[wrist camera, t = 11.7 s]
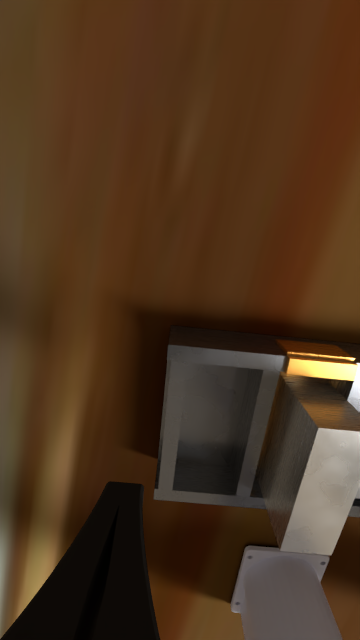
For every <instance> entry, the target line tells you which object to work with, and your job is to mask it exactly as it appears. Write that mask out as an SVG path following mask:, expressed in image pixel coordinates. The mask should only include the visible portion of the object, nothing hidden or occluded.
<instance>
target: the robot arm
mask: <svg viewBox="0 0 360 640" xmlns="http://www.w3.org/2000/svg"><path fill="white" fill-rule="evenodd" d="M143 493H144V486H143V485H142V484H133V483H122V482H108V483H107V484H106V486H105V488H104V490H103V492H102V494H101V496H100V498H99V500H98V502H97V503H96V505H95V507H94V509H93V510H92V512H91V514H90V516H89V517H88V519H87V521H86V522H85V524H84V525H83V527H82V528H81V530H80V532H79V533H78V535H77V536H76V538H75V540H74V541H73V543H72V544H71V546H70V547H69V549H68V550H67V552H66V553H65V554H64V556H63V557H62V559H61V560H60V562H59V563H58V565H57V566H56V567H55V569H54V570H53V572H52V573H51V575H50V576H49V577H48V579H47V580H46V582H45V583H44V584H43V586H42V587H41V588H40V590H39V591H38V592H37V594H36V595H35V596H34V598H33V599H32V600H31V602H30V603H29V604H28V605H27V607H26V608H25V609H24V611H23V612H22V613H21V614H20V616H19V617H18V618H17V619H16V621H15V622H14V623H13V624H12V626H11V627H10V628H9V629H8V630H7V632H6V633H5V634H4V635H3V637H2V638H1V639H0V640H160V637H159V632H158V627H157V622H156V617H155V612H154V607H153V601H152V595H151V589H150V583H149V576H148V569H147V562H146V554H145V544H144V534H143V514H142V506H143ZM328 562H329V556H328V555H321V554H309V553H297V552H285V551H280V550H279V548H273V547H261V546H247V547H246V548H245V550H244V554H243V558H242V562H241V566H240V570H239V574H238V577H237V581H236V585H235V589H234V593H233V597H232V601H231V610H232V611H233V612H237V613H241V618H242V625H243V631H244V638H245V640H343V639H342V636H341V634H340V631H339V629H338V626H337V624H336V621H335V619H334V616H333V614H332V611H331V609H330V606H329V604H328V601H327V599H326V596H325V594H324V591H323V589H322V586H321V584H320V582H321V579H322V577H323V574H324V572H325V569H326V567H327V564H328Z"/></svg>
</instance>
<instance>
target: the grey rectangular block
mask: <svg viewBox="0 0 360 640" xmlns="http://www.w3.org/2000/svg"><path fill="white" fill-rule="evenodd" d="M256 476H257V479H258V482H259V486H260V489H261V492H262V495H263V498H264V502H265V505H266V508H267V511H268V515H269V518H270V521H271V524H272V528H273V531H274V534H275V537H276V540H277V544H278V547H279V550H280V551H285V552H297V553H309V554H321V555H332V553H333V551H334V548H335V546H336V543H337V541H338V538H339V536H340V533H341V531H342V528H343V526H344V524H345V521H346V519H347V516H348V514H349V511H350V509H351V506H352V504H353V501H354V499H355V496H356V494H357V492H358V489H359V487H360V413H359V412H358V411H357V410H356V409H355V408H354V407H353V406H352V405H351V404H350V403H349V402H348V401H347V400H346V399H345V398H344V397H343V396H342V395H341V394H340V393H339V392H338V391H337V390H336V389H335V388H334V387H333V386H332V385H331V384H330V383H329V382H328V381H327V380H326V379H325V378H320V377H310V376H299V375H289V374H286V373H285V372H282V371H280V375H279V379H278V383H277V387H276V391H275V395H274V399H273V403H272V407H271V412H270V416H269V420H268V424H267V428H266V432H265V436H264V440H263V444H262V449H261V453H260V457H259V461H258V465H257V469H256Z"/></svg>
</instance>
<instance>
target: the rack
mask: <svg viewBox="0 0 360 640" xmlns="http://www.w3.org/2000/svg"><path fill="white" fill-rule="evenodd" d="M280 371H282V372H285V373H286V374H289V375H299V376H310V377H320V378H325V379H326V380H327V381H328V382H329V383H330V384H331V385H332V386H333V387H334V388H335V389H336V390H337V391H338V392H339V393H340V394H341V395H342V396H343V397H344V398H345V399H346V400H347V401H348V402H349V403H350V404H351V405H352V406H353V407H354V408H355V409H356V410H357V411H358V412H359V413H360V344H354V343H344V342H334V341H324V340H314V339H303V338H293V337H283V336H273V335H263V334H253V333H243V332H233V331H223V330H213V329H203V328H193V327H183V326H173V325H171V329H170V336H169V343H168V353H167V370H166V381H165V391H164V402H163V412H162V422H161V433H160V443H159V454H158V464H157V472H156V481H155V490H154V499H155V500H166V501H178V502H190V503H201V504H213V505H224V506H236V507H247V508H259V509H267V508H266V505H265V502H264V498H263V495H262V492H261V489H260V486H259V482H258V479H257V476H256V469H257V465H258V461H259V457H260V453H261V449H262V444H263V440H264V436H265V432H266V428H267V424H268V420H269V416H270V412H271V407H272V403H273V399H274V395H275V391H276V387H277V383H278V379H279V375H280ZM348 516H352V517H360V487H359V489H358V492H357V494H356V496H355V499H354V501H353V504H352V506H351V509H350V511H349V514H348Z"/></svg>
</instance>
